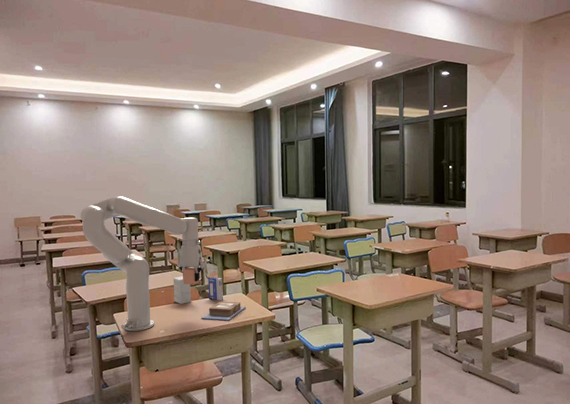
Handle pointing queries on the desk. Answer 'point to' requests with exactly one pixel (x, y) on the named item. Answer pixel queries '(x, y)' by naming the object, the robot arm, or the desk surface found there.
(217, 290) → the walkman
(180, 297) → the small box
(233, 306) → the walnut base block
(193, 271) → the terracotta block
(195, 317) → the desk surface
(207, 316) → the board
